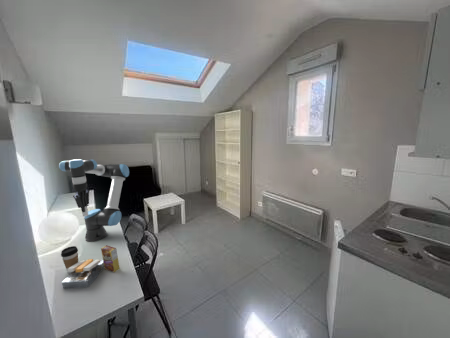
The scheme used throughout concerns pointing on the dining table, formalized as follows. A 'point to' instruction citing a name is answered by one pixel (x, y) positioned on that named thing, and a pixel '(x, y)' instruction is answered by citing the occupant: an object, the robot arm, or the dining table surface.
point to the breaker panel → (82, 277)
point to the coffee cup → (70, 256)
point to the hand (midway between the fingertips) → (85, 215)
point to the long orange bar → (83, 265)
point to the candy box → (110, 258)
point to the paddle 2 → (92, 265)
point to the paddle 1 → (75, 266)
